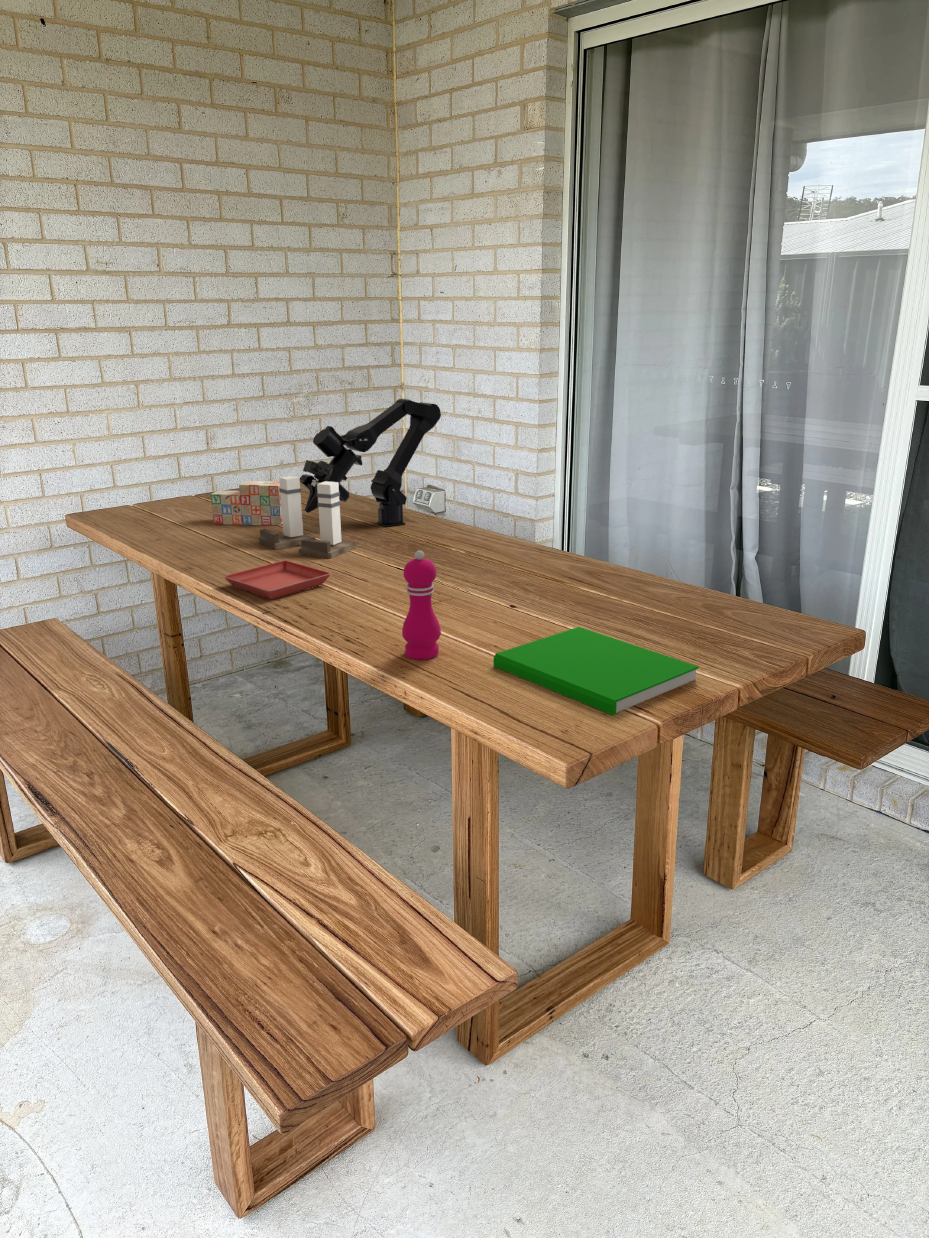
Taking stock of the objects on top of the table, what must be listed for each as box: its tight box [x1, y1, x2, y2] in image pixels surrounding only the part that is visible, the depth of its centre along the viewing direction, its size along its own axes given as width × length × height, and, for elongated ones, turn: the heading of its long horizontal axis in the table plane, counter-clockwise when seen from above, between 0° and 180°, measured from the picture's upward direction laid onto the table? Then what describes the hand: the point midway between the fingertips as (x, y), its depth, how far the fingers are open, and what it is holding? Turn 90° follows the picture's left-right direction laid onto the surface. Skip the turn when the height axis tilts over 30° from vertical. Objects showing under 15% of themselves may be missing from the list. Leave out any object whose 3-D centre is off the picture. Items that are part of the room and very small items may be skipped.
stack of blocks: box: [210, 480, 283, 526], centre depth 280 cm, size 21×6×12 cm, turn 82°
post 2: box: [317, 481, 343, 545], centre depth 247 cm, size 4×4×16 cm
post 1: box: [278, 475, 304, 537], centre depth 256 cm, size 4×4×16 cm
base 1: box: [258, 528, 316, 550], centre depth 257 cm, size 12×10×4 cm
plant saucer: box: [223, 560, 332, 600], centre depth 218 cm, size 18×18×3 cm
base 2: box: [298, 539, 356, 559], centre depth 248 cm, size 12×10×4 cm
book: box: [493, 626, 700, 716], centre depth 165 cm, size 22×28×3 cm
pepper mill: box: [401, 550, 442, 660], centre depth 172 cm, size 7×7×20 cm
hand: (306, 511), depth 259 cm, fingers closed
